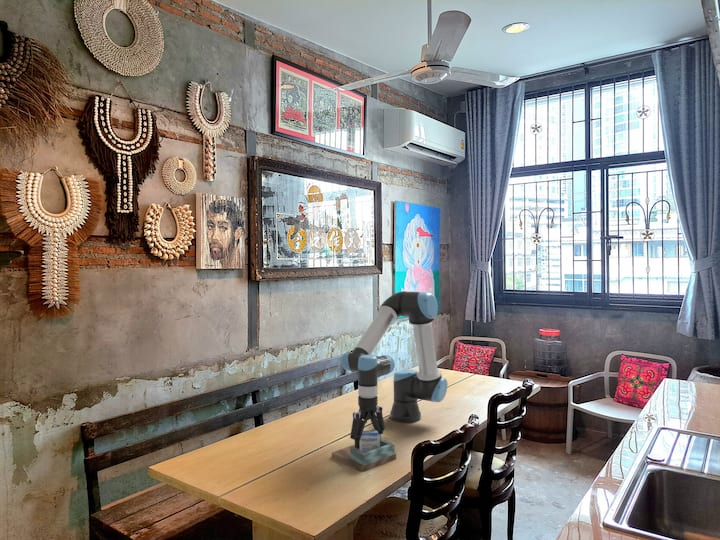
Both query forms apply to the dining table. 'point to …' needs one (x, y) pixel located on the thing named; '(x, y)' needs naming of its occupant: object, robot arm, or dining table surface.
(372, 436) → the medicine box
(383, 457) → the dock
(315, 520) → the dining table surface
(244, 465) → the dining table surface
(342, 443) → the dining table surface
